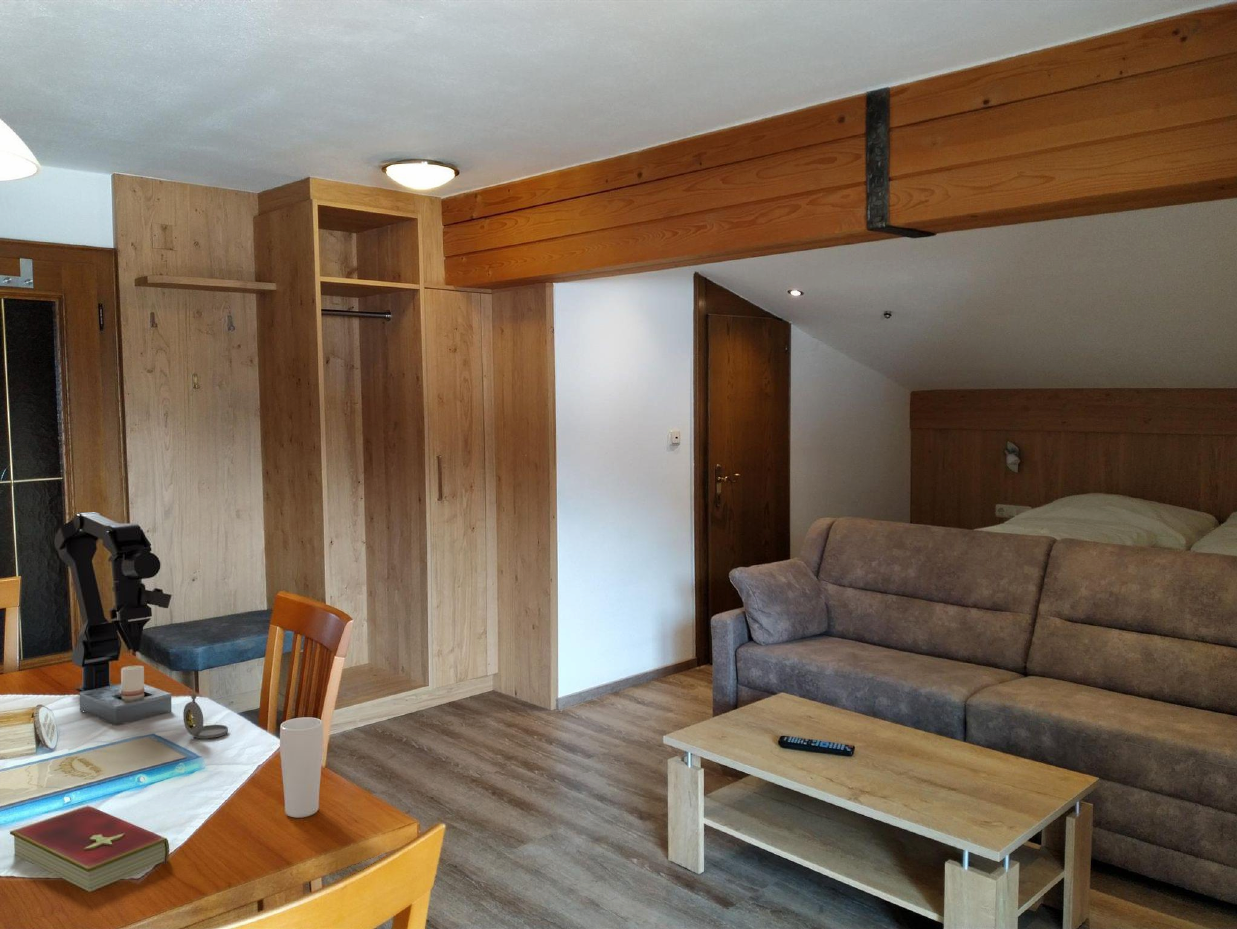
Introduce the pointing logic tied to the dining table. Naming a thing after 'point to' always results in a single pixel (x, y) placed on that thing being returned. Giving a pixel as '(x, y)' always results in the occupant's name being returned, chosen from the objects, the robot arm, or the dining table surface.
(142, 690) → the coin roll
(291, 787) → the drinking glass
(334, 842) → the dining table surface
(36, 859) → the hardcover book
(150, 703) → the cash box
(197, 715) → the pocket watch
